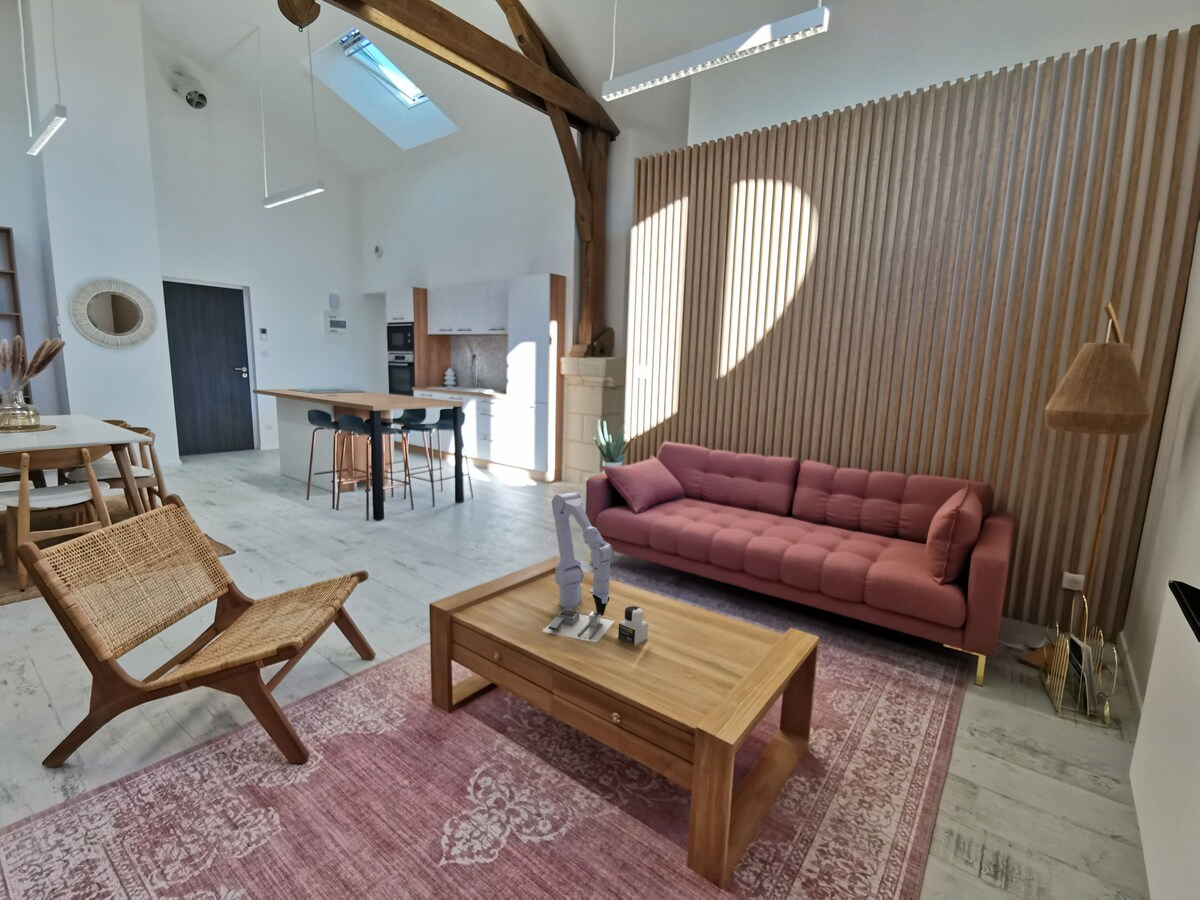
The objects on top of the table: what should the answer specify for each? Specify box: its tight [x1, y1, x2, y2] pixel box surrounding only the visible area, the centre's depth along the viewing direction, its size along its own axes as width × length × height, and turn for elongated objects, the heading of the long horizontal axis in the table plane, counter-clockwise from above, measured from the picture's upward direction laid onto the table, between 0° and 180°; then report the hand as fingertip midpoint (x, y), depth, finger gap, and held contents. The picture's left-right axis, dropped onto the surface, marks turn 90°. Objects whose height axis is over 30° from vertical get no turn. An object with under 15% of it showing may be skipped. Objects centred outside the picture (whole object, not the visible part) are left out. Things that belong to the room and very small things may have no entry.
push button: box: [562, 607, 575, 617], centre depth 208 cm, size 4×4×4 cm
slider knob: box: [588, 611, 601, 627], centre depth 204 cm, size 3×3×4 cm
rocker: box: [547, 616, 564, 631], centre depth 201 cm, size 6×3×1 cm, turn 159°
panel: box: [541, 609, 615, 644], centre depth 205 cm, size 18×20×4 cm
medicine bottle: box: [617, 605, 649, 646], centre depth 196 cm, size 7×7×12 cm
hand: (600, 614), depth 210 cm, fingers closed
